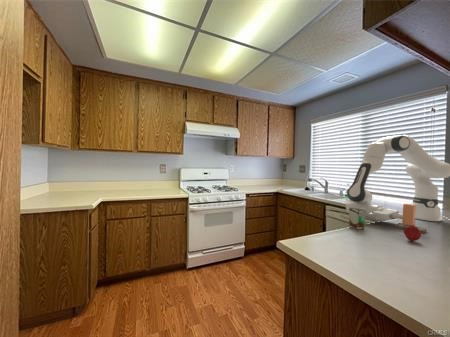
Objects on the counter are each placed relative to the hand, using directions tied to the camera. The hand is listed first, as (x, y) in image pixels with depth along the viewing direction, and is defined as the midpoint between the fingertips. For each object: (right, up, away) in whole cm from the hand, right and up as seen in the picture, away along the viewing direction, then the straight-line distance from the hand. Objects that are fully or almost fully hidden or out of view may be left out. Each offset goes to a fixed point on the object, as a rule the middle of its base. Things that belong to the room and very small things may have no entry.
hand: (403, 217), depth 114 cm
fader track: (+1, -6, -3) cm, 7 cm away
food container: (-28, -5, -4) cm, 28 cm away
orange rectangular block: (+1, -5, -2) cm, 5 cm away
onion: (-15, -6, -21) cm, 26 cm away
